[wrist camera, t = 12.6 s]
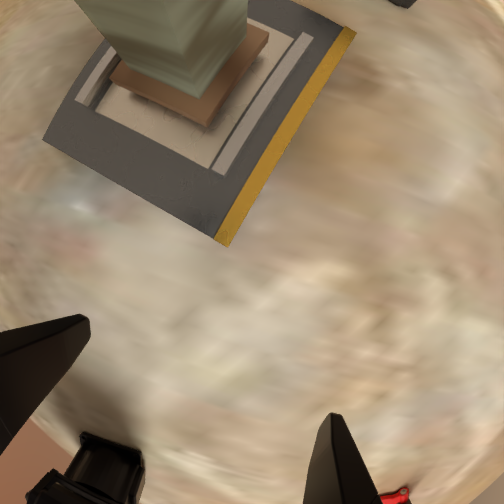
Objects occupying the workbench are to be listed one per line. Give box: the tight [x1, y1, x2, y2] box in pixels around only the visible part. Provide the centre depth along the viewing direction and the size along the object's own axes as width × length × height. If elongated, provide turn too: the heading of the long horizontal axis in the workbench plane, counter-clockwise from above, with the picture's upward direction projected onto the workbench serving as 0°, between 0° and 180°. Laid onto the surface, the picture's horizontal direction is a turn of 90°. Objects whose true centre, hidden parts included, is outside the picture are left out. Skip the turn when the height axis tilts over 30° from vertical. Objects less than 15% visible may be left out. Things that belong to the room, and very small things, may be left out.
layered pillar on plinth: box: [75, 0, 269, 128], centre depth 10 cm, size 7×7×13 cm
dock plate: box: [42, 0, 357, 247], centre depth 17 cm, size 18×16×4 cm
